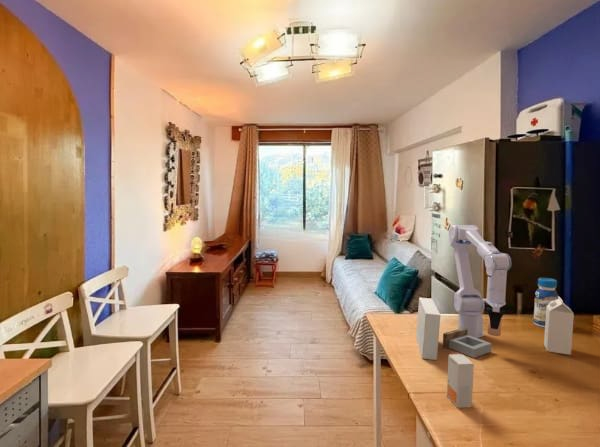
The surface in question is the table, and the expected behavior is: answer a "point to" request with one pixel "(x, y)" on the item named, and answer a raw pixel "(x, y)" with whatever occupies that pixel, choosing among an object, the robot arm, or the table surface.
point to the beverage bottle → (544, 299)
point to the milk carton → (558, 327)
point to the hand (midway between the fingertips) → (494, 326)
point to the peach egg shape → (494, 331)
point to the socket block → (470, 345)
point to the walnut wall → (453, 335)
